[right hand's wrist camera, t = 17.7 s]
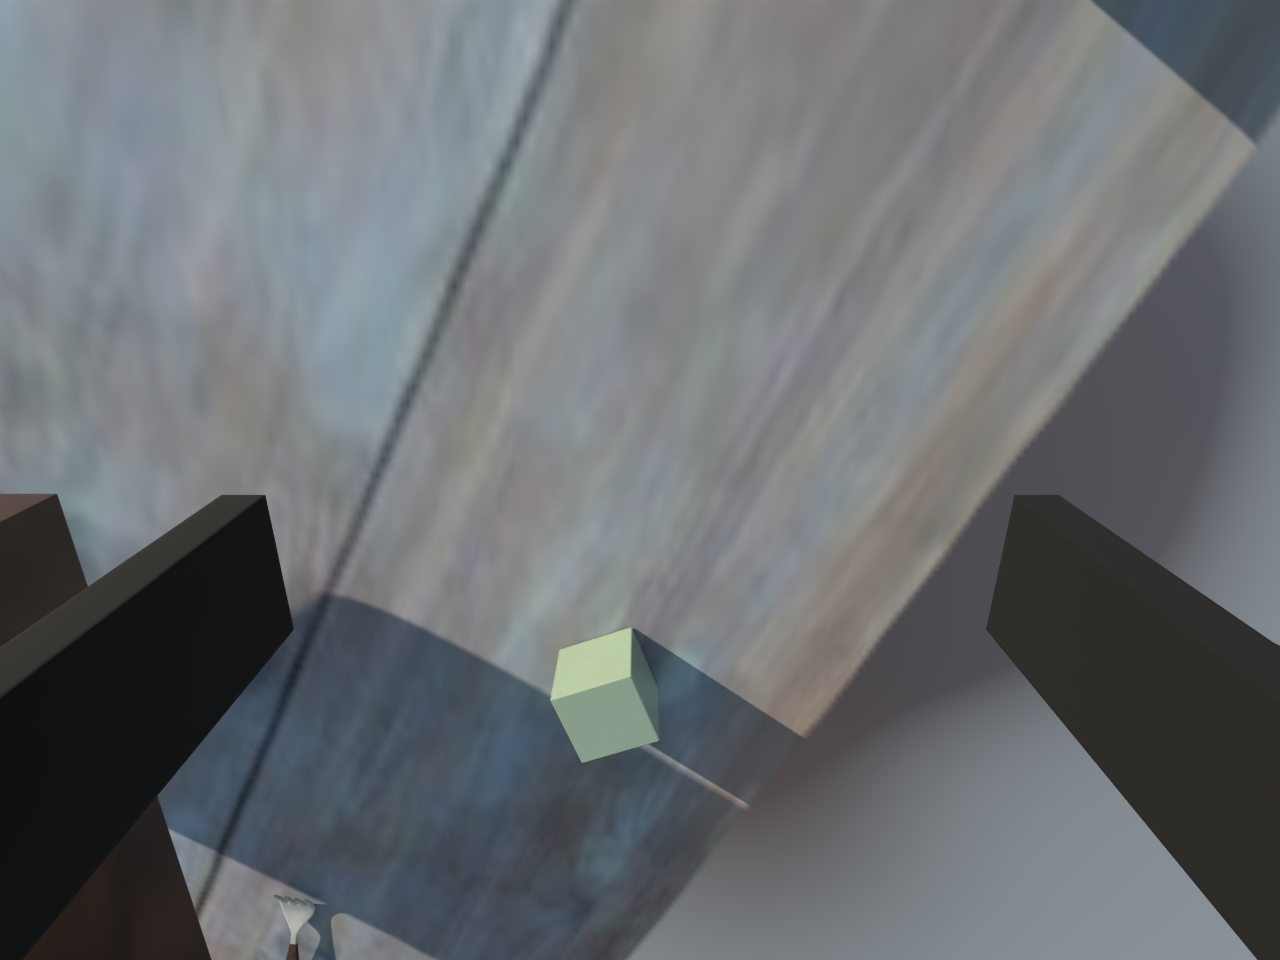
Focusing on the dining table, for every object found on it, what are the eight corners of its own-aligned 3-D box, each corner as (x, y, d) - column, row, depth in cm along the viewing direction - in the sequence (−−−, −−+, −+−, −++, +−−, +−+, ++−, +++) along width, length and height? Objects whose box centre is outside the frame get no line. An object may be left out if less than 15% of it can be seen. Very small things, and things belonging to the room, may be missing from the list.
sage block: (631, 626, 44) (631, 675, 40) (658, 687, 46) (660, 741, 41) (559, 648, 45) (549, 700, 40) (587, 708, 47) (581, 764, 42)
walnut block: (-108, 492, 21) (-437, 621, 15) (57, 493, 21) (-199, 621, 15) (146, 1090, 32) (23, 1314, 26) (255, 1090, 32) (159, 1314, 26)
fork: (274, 1008, 57) (262, 1035, 55) (283, 871, 52) (270, 896, 50) (306, 1013, 58) (295, 1040, 56) (319, 877, 52) (307, 902, 50)
